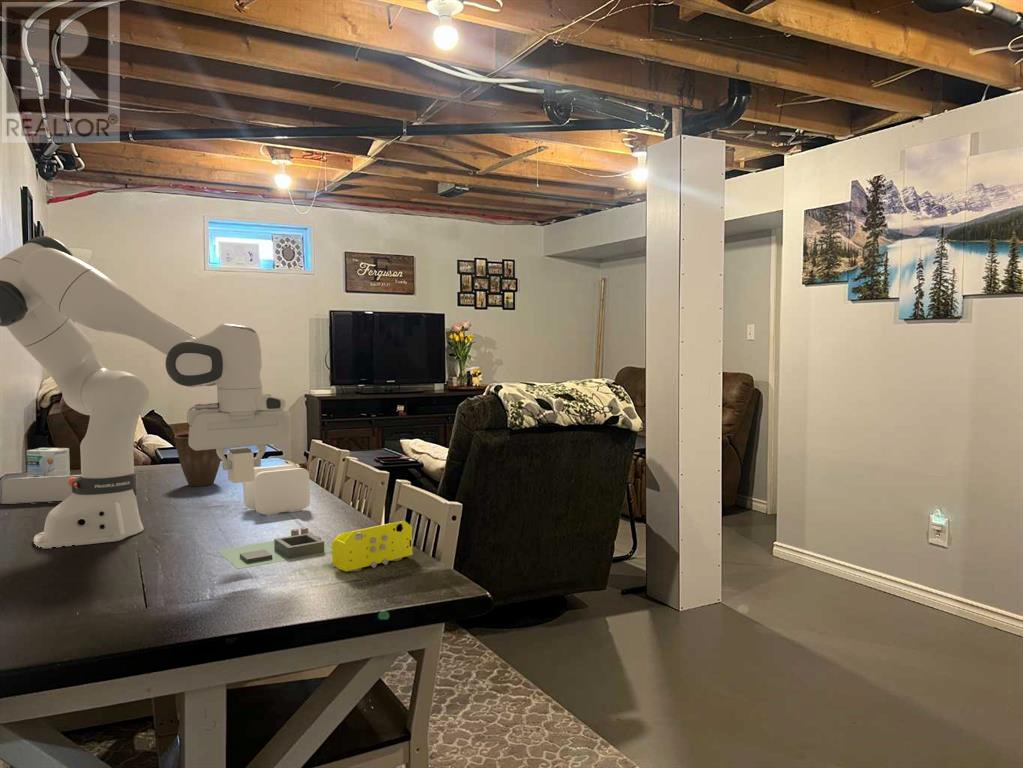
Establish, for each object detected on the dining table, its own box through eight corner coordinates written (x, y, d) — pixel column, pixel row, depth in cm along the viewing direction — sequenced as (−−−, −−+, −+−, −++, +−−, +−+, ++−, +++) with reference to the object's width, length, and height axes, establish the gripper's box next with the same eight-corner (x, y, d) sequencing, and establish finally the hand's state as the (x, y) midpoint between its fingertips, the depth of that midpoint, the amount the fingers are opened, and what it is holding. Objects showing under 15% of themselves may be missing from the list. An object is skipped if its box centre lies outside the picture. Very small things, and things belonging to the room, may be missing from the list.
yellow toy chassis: (347, 576, 143) (346, 533, 142) (331, 569, 147) (331, 528, 146) (413, 559, 154) (413, 519, 153) (397, 553, 158) (397, 515, 158)
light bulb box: (26, 482, 241) (25, 450, 241) (43, 479, 248) (41, 447, 247) (55, 483, 239) (54, 450, 239) (71, 479, 246) (70, 447, 245)
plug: (234, 483, 150) (233, 451, 150) (228, 479, 154) (227, 448, 154) (257, 480, 153) (255, 449, 153) (250, 477, 157) (248, 446, 157)
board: (238, 576, 142) (237, 556, 142) (216, 557, 155) (215, 539, 155) (335, 558, 154) (335, 539, 154) (307, 541, 167) (307, 524, 167)
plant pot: (184, 480, 243) (183, 432, 243) (231, 479, 245) (230, 431, 244) (169, 489, 229) (167, 438, 228) (218, 488, 230) (217, 437, 229)
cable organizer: (253, 518, 191) (252, 473, 190) (243, 510, 199) (242, 468, 199) (310, 510, 199) (309, 467, 198) (298, 503, 208) (297, 462, 207)
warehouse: (129, 490, 230) (128, 466, 229) (119, 499, 216) (118, 473, 215) (19, 496, 221) (18, 471, 221) (1, 506, 207) (0, 479, 207)
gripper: (190, 405, 144) (192, 475, 145) (293, 400, 156) (294, 464, 157) (183, 403, 149) (185, 471, 150) (283, 398, 161) (284, 461, 162)
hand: (242, 467), depth 154 cm, fingers closed on plug, 4 cm apart
